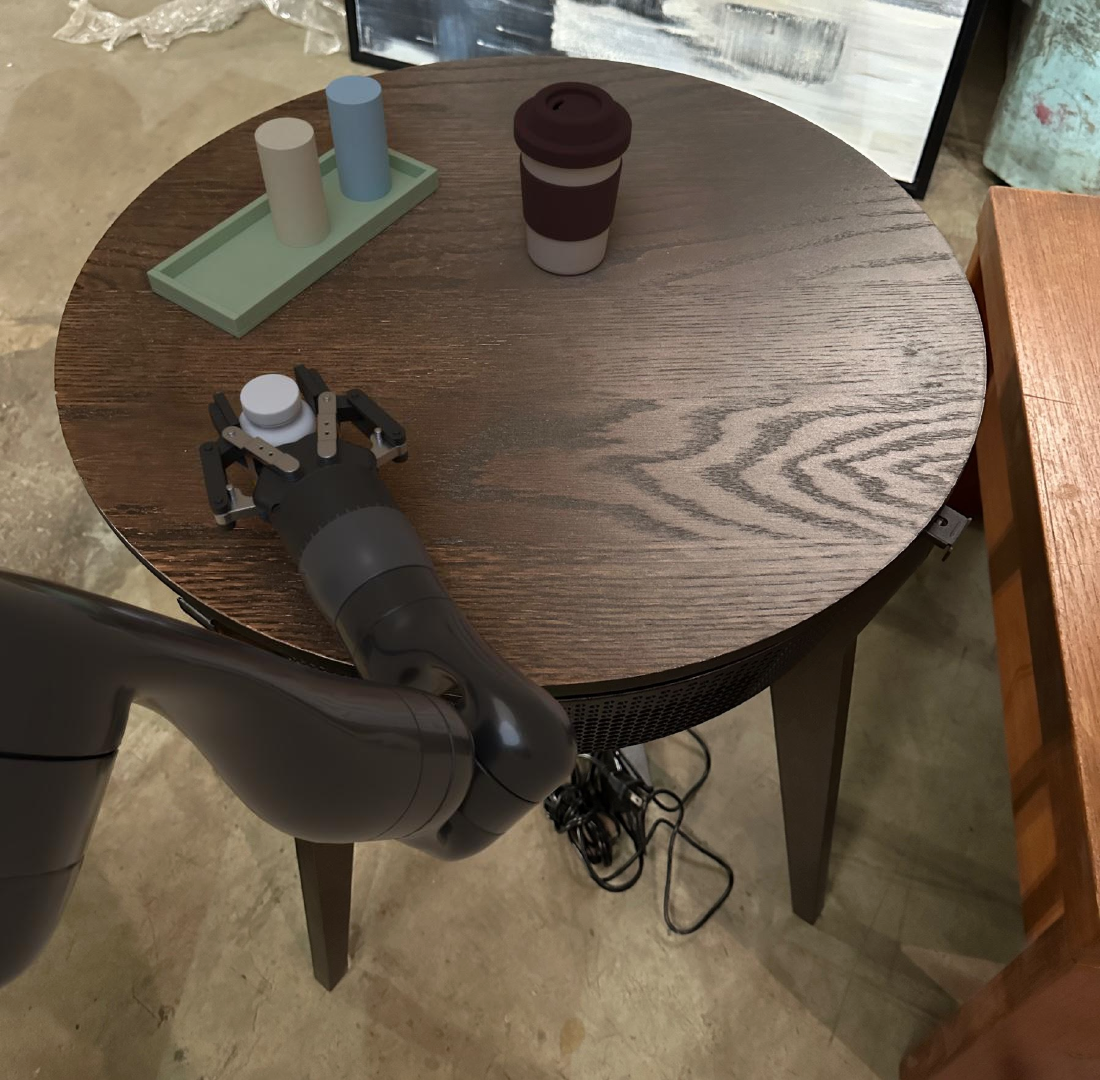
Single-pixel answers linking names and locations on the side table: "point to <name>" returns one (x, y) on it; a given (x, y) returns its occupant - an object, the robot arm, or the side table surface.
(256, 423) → the supplement bottle
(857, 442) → the side table surface
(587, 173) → the coffee cup
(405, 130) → the side table surface
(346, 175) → the blue cylinder
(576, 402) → the side table surface
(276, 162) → the beige upright cylinder
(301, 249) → the tray
